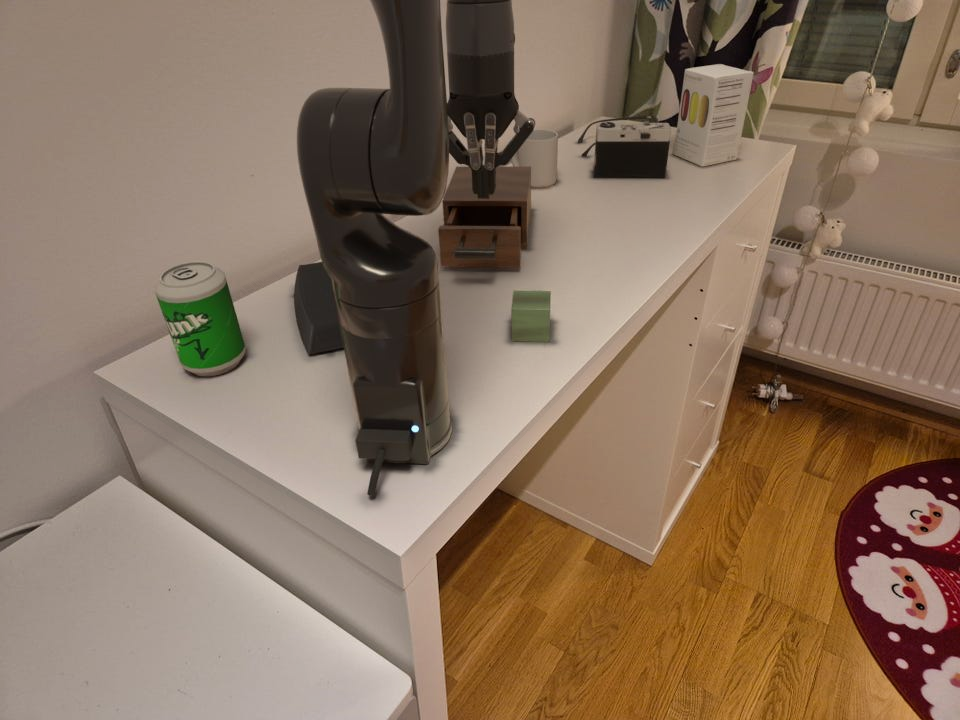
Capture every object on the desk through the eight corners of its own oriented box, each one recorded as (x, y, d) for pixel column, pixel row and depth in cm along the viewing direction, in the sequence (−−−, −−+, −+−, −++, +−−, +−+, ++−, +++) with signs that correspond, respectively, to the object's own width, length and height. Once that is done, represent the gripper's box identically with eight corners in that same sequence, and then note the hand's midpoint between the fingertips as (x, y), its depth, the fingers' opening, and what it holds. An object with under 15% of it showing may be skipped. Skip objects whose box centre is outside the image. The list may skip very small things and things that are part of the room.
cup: (542, 191, 122) (543, 142, 117) (500, 181, 128) (499, 134, 123) (563, 180, 127) (565, 133, 122) (521, 170, 132) (521, 125, 127)
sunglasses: (576, 138, 149) (577, 115, 146) (651, 136, 148) (654, 113, 145) (582, 161, 136) (584, 137, 133) (665, 160, 135) (668, 135, 132)
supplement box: (671, 154, 137) (682, 68, 128) (706, 147, 140) (720, 62, 131) (702, 167, 130) (716, 76, 121) (738, 159, 133) (755, 70, 124)
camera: (666, 165, 132) (672, 114, 126) (665, 182, 125) (671, 129, 119) (596, 162, 135) (599, 112, 129) (591, 179, 128) (594, 127, 122)
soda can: (225, 338, 84) (199, 252, 77) (260, 358, 79) (236, 269, 73) (170, 365, 79) (137, 276, 72) (205, 388, 75) (173, 296, 68)
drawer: (517, 286, 90) (517, 247, 87) (434, 285, 91) (431, 246, 88) (524, 227, 107) (525, 191, 103) (454, 226, 108) (452, 191, 105)
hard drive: (380, 272, 97) (377, 246, 95) (408, 338, 82) (405, 310, 80) (291, 287, 94) (285, 261, 92) (302, 359, 79) (296, 330, 77)
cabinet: (526, 249, 102) (527, 200, 98) (445, 248, 103) (442, 200, 99) (530, 210, 115) (531, 166, 111) (458, 209, 116) (456, 166, 112)
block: (549, 342, 80) (550, 309, 78) (511, 341, 81) (511, 308, 78) (549, 322, 84) (550, 290, 81) (513, 321, 84) (513, 290, 82)
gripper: (414, 52, 71) (426, 206, 81) (536, 51, 69) (534, 209, 79) (430, 41, 77) (439, 185, 87) (542, 40, 75) (539, 187, 85)
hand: (484, 196), depth 83 cm, fingers closed
